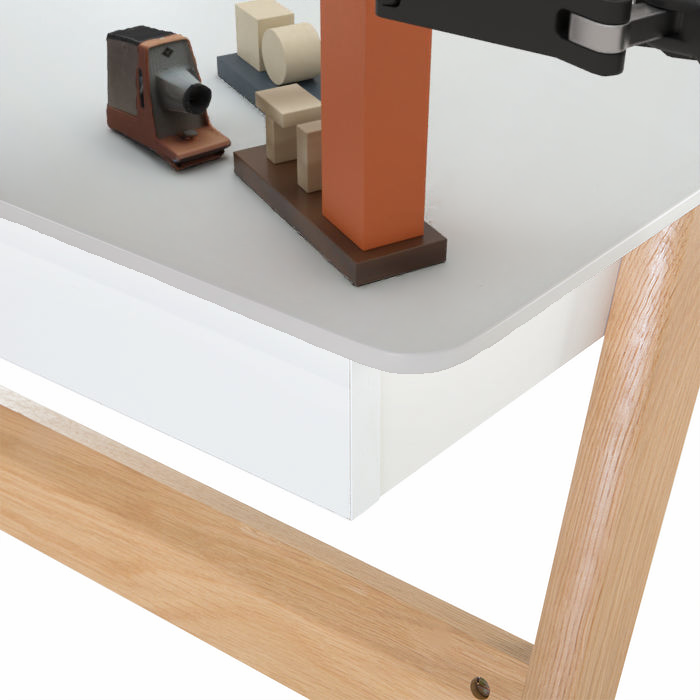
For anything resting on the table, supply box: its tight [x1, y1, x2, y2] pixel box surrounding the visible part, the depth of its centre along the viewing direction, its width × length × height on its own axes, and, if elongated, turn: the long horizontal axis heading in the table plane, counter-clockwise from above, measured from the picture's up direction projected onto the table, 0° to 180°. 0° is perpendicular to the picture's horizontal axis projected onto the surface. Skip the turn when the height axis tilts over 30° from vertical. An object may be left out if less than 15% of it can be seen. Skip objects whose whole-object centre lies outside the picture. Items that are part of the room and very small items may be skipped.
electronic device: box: [105, 24, 232, 171], centre depth 82 cm, size 4×10×8 cm, turn 39°
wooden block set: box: [216, 0, 321, 109], centre depth 88 cm, size 16×6×6 cm, turn 29°
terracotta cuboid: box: [319, 0, 433, 251], centre depth 68 cm, size 5×4×15 cm
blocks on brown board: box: [232, 84, 448, 287], centre depth 75 cm, size 16×6×6 cm, turn 29°
